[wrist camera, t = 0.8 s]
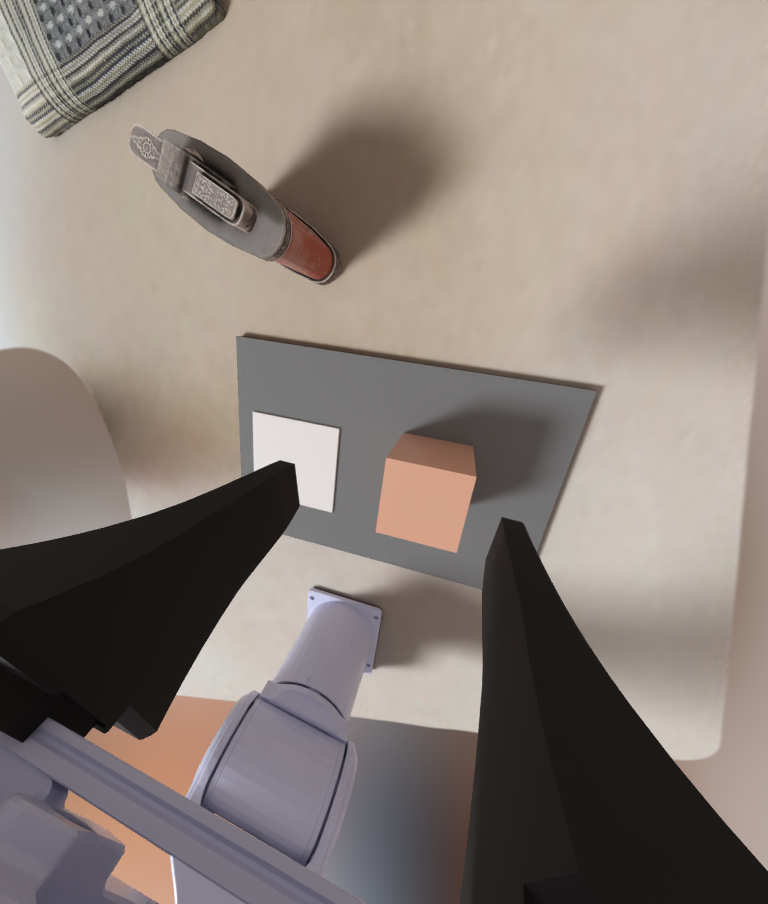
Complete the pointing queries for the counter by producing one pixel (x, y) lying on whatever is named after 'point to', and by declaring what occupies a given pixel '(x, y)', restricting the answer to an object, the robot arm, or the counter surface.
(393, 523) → the copper orange block
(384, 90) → the counter surface
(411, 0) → the counter surface
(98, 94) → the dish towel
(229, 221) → the lighter
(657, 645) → the counter surface
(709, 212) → the counter surface
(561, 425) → the mat
